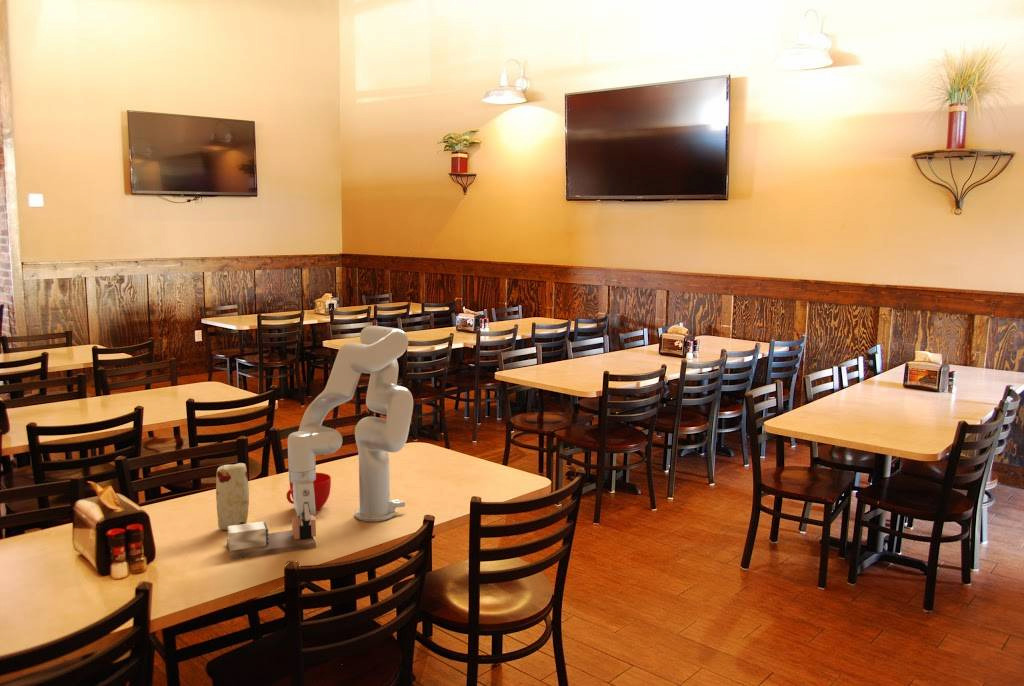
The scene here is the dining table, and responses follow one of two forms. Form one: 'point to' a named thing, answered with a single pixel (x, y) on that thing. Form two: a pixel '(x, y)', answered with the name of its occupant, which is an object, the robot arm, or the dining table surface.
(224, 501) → the food model
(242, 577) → the dining table surface
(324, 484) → the ceramic cup
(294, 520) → the stub
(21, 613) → the dining table surface
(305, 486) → the robot arm
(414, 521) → the dining table surface
